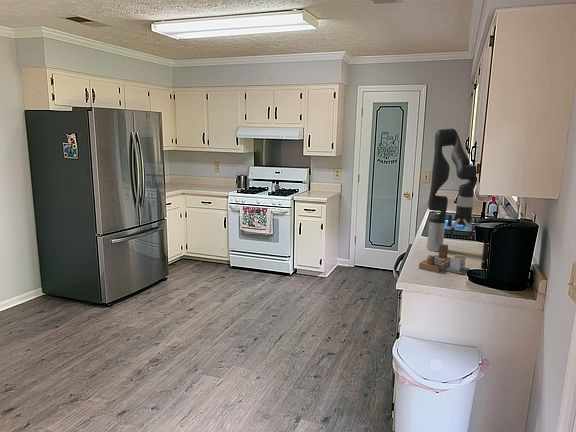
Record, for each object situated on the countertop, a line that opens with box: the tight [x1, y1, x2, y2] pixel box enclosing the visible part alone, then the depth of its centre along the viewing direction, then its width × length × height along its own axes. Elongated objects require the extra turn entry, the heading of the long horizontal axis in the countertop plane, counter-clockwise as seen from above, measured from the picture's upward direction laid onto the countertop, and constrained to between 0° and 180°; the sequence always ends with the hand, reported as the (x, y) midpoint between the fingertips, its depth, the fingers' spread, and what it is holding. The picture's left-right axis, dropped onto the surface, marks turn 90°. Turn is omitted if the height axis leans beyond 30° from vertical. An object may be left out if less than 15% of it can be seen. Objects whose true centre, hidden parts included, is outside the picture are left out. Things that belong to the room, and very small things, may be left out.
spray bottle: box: [480, 242, 489, 271], centre depth 221 cm, size 10×10×25 cm
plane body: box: [418, 243, 452, 273], centre depth 228 cm, size 22×10×10 cm, turn 140°
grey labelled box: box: [449, 253, 467, 272], centre depth 221 cm, size 8×5×7 cm, turn 140°
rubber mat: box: [443, 266, 471, 276], centre depth 222 cm, size 12×9×1 cm
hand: (461, 236), depth 219 cm, fingers open, 8 cm apart
